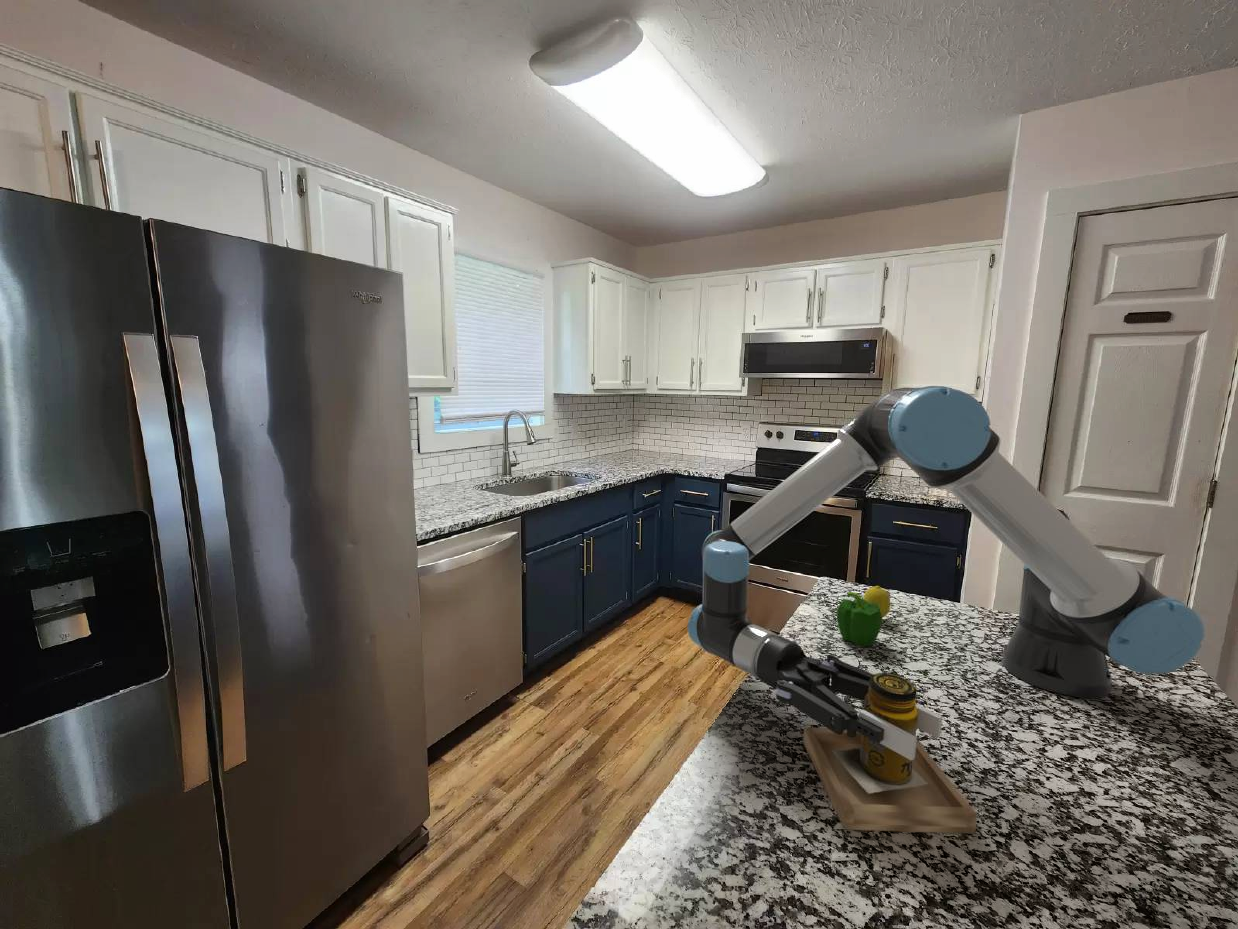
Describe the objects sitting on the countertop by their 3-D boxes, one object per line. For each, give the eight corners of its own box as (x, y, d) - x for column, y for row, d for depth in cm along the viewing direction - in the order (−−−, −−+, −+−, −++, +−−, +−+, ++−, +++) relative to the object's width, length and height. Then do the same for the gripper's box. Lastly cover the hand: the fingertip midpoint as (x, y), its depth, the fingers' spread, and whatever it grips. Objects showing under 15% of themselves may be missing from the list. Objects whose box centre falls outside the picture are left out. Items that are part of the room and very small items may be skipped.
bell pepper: (888, 643, 105) (892, 596, 104) (865, 654, 101) (869, 605, 99) (851, 627, 112) (854, 583, 111) (827, 637, 108) (830, 591, 106)
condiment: (928, 785, 64) (937, 695, 62) (868, 795, 62) (876, 703, 61) (886, 745, 71) (894, 664, 69) (831, 753, 69) (838, 670, 68)
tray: (907, 746, 75) (909, 730, 74) (975, 833, 60) (977, 814, 59) (803, 743, 75) (804, 727, 75) (844, 829, 60) (845, 810, 60)
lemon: (892, 626, 113) (895, 591, 112) (865, 624, 114) (867, 589, 113) (884, 615, 118) (887, 582, 117) (858, 613, 119) (861, 580, 118)
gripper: (804, 662, 87) (957, 736, 68) (727, 701, 75) (885, 802, 57) (807, 619, 86) (963, 683, 67) (729, 653, 74) (890, 740, 56)
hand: (927, 737), depth 62 cm, fingers closed on condiment, 6 cm apart
